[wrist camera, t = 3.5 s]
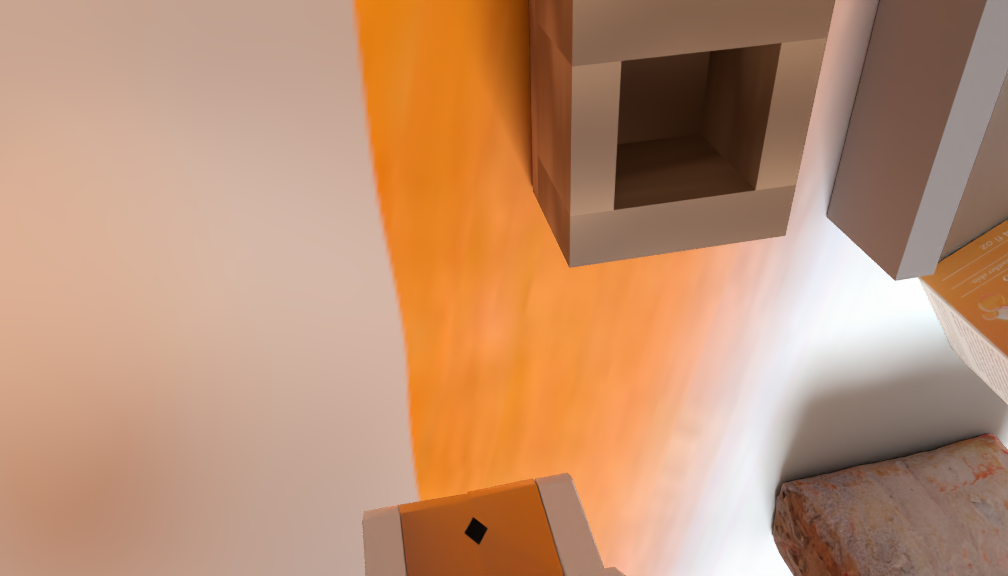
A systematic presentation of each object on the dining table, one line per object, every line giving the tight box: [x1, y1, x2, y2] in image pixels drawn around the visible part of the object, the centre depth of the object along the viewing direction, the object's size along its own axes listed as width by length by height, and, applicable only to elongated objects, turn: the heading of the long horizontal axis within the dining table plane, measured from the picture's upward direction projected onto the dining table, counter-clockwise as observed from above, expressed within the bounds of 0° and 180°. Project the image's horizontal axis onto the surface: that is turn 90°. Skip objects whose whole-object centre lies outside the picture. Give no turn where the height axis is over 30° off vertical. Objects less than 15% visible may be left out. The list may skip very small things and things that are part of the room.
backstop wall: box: [827, 0, 1008, 281], centre depth 25 cm, size 12×2×4 cm, turn 2°
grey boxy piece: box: [773, 433, 1008, 576], centre depth 38 cm, size 14×8×10 cm, turn 95°
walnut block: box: [529, 0, 835, 268], centre depth 23 cm, size 8×7×5 cm
